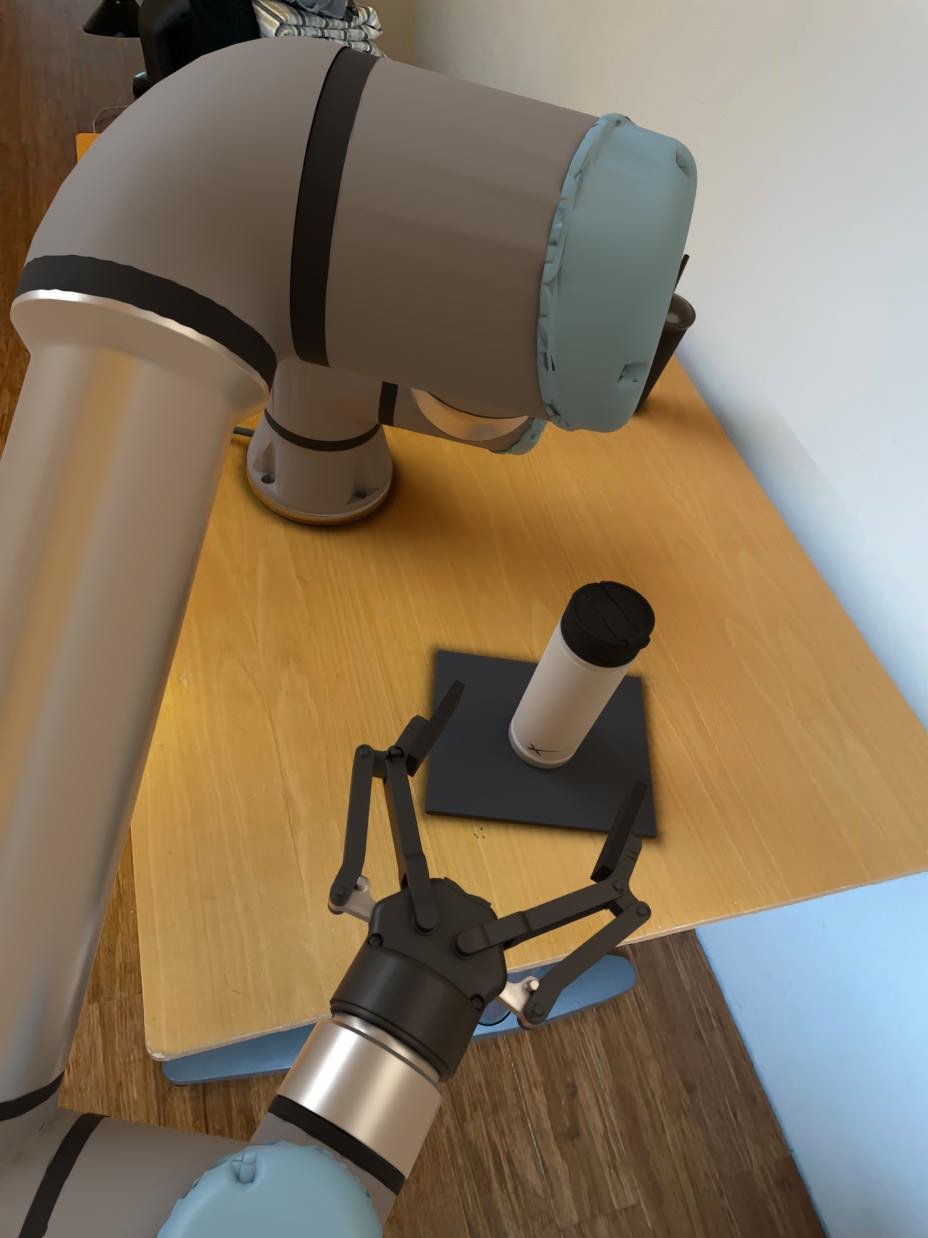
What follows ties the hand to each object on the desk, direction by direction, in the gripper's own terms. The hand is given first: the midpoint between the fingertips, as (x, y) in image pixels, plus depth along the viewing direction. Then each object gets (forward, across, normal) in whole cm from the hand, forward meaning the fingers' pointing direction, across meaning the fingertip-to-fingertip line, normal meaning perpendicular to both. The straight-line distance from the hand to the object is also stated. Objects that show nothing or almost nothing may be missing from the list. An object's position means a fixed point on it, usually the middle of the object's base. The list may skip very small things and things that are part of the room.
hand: (545, 740), depth 55 cm
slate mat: (+10, 0, -16) cm, 19 cm away
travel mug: (+10, 0, -16) cm, 18 cm away
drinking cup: (+61, -11, -17) cm, 64 cm away
